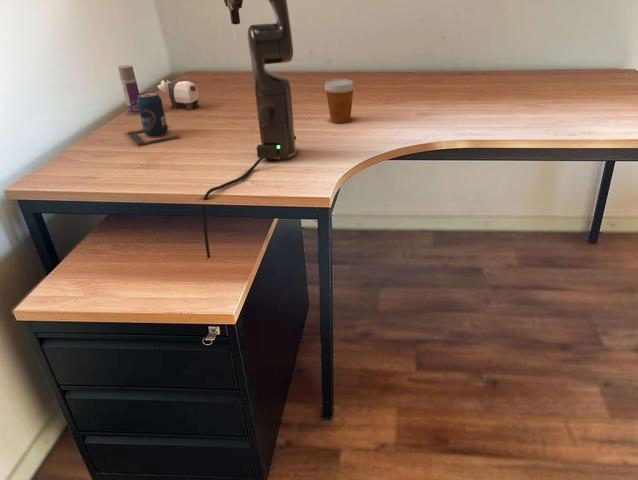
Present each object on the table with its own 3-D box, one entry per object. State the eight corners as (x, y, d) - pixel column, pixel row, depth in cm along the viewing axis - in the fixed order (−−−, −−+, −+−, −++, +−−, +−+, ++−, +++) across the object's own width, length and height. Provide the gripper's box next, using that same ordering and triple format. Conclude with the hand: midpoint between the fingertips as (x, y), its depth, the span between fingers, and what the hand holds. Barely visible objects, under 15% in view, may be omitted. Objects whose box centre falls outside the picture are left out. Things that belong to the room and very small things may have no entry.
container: (145, 109, 189) (134, 64, 181) (140, 114, 185) (130, 67, 177) (131, 110, 189) (120, 65, 181) (127, 114, 185) (115, 68, 177)
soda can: (140, 137, 165) (130, 96, 159) (152, 129, 171) (144, 90, 164) (160, 138, 164) (151, 98, 157) (172, 131, 169) (164, 91, 163)
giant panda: (202, 106, 192) (197, 78, 187) (193, 110, 188) (188, 82, 182) (166, 103, 196) (161, 75, 191) (157, 107, 191) (151, 79, 186)
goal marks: (165, 126, 174) (165, 125, 174) (179, 138, 164) (179, 137, 164) (127, 133, 168) (127, 132, 168) (139, 146, 159) (138, 145, 159)
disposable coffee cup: (339, 114, 182) (338, 76, 175) (361, 119, 176) (360, 81, 170) (319, 121, 176) (317, 83, 169) (342, 127, 170) (340, 87, 164)
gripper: (206, -44, 155) (215, 22, 164) (222, -42, 146) (232, 28, 155) (231, -46, 158) (239, 20, 168) (249, -44, 149) (256, 25, 158)
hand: (235, 23), depth 161 cm, fingers closed
